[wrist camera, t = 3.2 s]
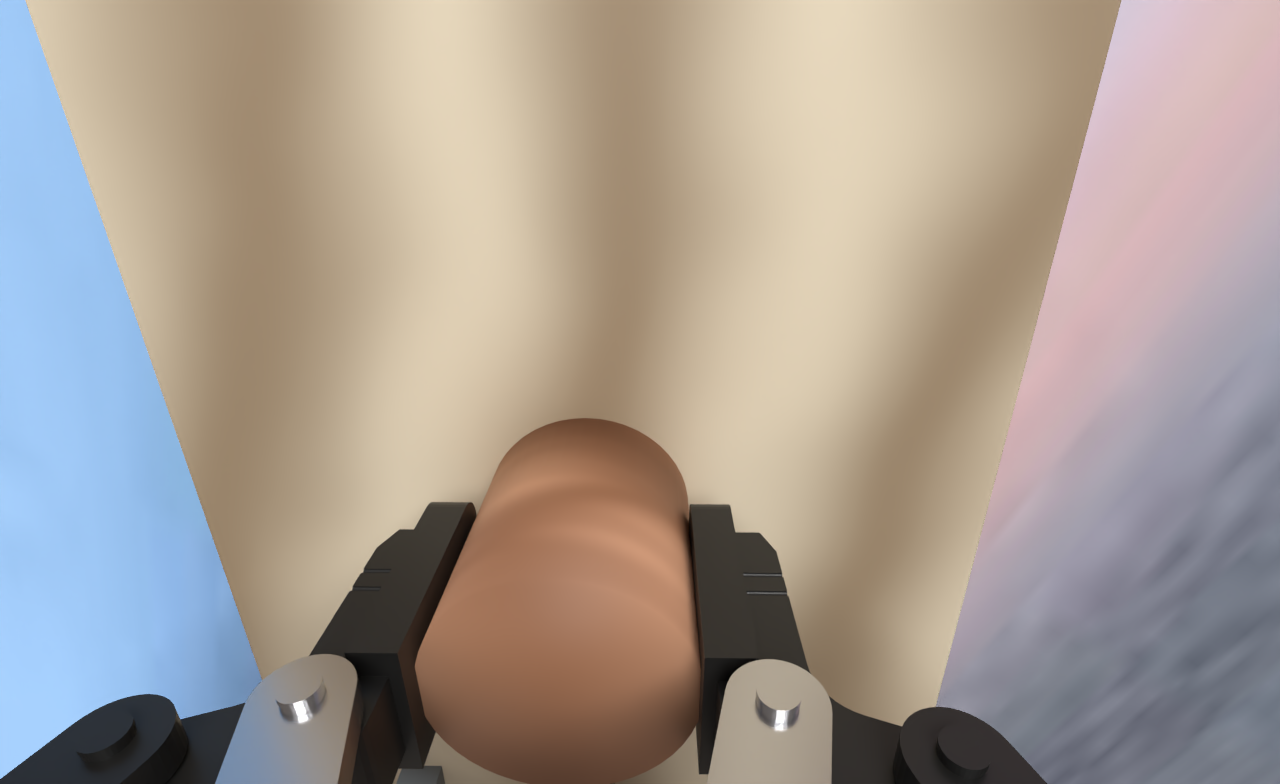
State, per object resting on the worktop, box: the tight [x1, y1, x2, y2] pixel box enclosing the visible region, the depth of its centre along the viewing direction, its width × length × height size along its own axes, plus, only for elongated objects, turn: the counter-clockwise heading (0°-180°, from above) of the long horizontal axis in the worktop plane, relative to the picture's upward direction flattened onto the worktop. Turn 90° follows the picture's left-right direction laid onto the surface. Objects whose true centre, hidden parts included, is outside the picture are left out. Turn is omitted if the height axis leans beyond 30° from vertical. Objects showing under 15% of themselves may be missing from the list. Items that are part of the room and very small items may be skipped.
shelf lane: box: [26, 0, 1121, 784], centre depth 13 cm, size 16×36×4 cm, turn 0°
